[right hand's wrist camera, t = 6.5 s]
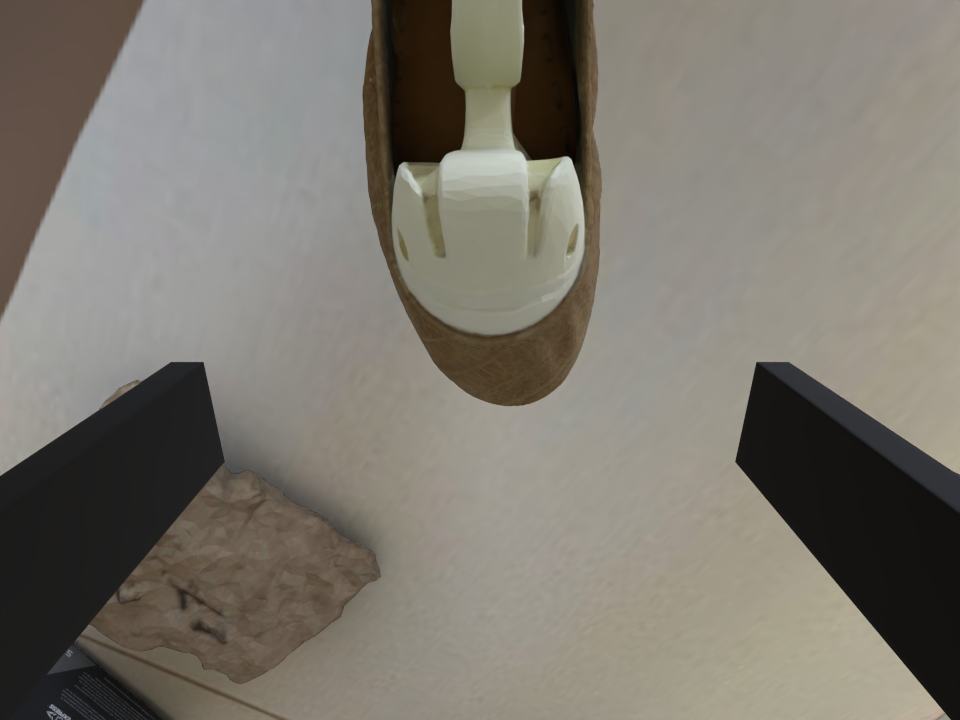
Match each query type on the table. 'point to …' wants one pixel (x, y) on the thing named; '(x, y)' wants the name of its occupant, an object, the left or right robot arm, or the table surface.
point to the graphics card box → (81, 694)
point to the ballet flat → (487, 183)
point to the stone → (237, 578)
